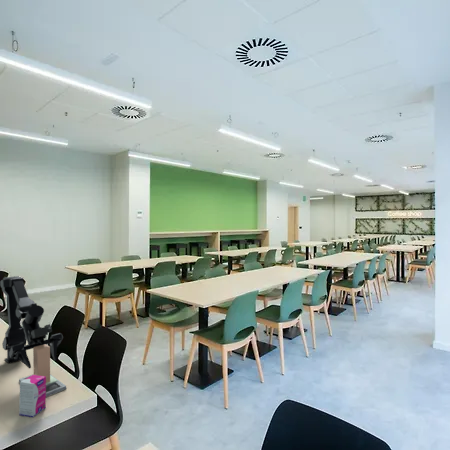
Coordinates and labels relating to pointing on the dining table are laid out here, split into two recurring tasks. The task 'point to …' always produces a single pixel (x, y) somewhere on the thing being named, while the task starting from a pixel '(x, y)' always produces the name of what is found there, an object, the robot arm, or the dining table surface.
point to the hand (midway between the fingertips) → (43, 363)
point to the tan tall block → (42, 361)
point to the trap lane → (51, 385)
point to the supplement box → (32, 395)
